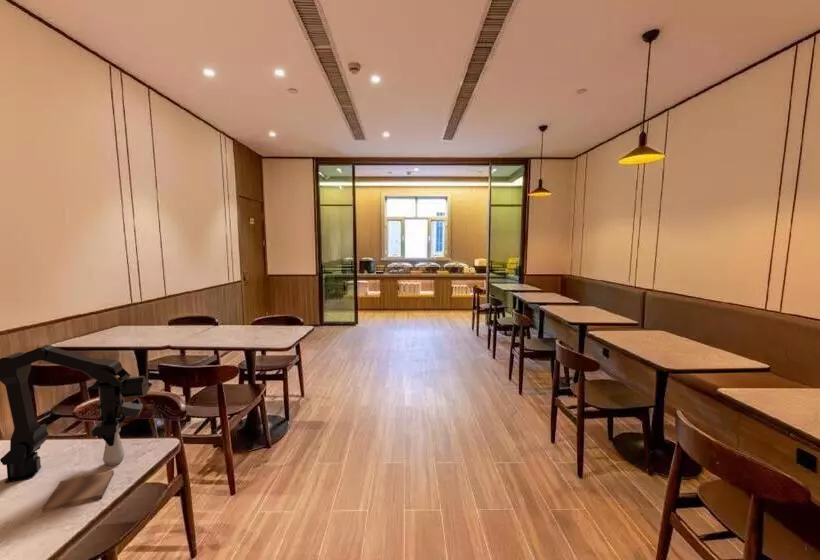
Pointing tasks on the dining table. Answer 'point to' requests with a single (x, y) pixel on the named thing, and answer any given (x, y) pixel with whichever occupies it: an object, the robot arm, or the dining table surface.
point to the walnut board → (78, 490)
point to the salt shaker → (114, 451)
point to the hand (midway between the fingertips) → (113, 443)
